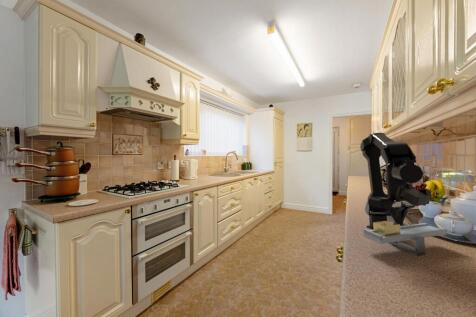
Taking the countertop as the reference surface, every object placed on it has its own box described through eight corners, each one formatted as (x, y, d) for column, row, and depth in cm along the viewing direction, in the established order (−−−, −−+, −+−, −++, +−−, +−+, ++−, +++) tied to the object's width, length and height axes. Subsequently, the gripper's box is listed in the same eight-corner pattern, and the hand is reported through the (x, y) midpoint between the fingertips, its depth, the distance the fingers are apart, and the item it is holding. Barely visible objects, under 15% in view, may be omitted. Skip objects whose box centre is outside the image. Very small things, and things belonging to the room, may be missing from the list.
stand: (388, 242, 75) (387, 227, 75) (394, 242, 75) (393, 227, 75) (419, 255, 64) (418, 238, 64) (425, 254, 65) (424, 237, 65)
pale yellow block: (373, 232, 70) (373, 222, 70) (388, 230, 71) (388, 220, 71) (385, 237, 66) (384, 226, 66) (400, 235, 67) (400, 224, 67)
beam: (362, 237, 71) (362, 228, 71) (424, 228, 76) (423, 221, 76) (382, 246, 64) (381, 236, 64) (449, 236, 68) (448, 227, 68)
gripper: (395, 184, 60) (398, 237, 60) (446, 180, 63) (449, 230, 63) (365, 180, 71) (368, 225, 71) (410, 177, 74) (413, 220, 74)
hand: (399, 225), depth 69 cm, fingers closed
